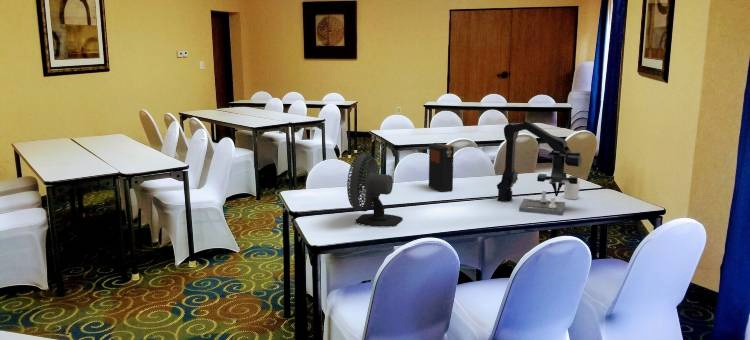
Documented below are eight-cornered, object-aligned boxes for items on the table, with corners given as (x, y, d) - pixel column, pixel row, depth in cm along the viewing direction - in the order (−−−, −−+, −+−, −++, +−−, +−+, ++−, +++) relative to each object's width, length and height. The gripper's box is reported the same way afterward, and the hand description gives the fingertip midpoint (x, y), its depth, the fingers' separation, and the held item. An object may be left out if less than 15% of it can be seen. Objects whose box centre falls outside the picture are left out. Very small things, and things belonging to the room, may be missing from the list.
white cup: (579, 200, 310) (581, 181, 308) (563, 199, 311) (565, 180, 309) (577, 196, 317) (579, 178, 315) (562, 195, 319) (563, 177, 317)
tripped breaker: (540, 202, 297) (540, 192, 296) (540, 200, 300) (541, 190, 299) (546, 202, 295) (546, 192, 294) (547, 200, 299) (547, 191, 298)
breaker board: (519, 211, 289) (519, 207, 288) (523, 202, 305) (523, 198, 305) (562, 215, 282) (562, 210, 281) (564, 205, 298) (565, 201, 298)
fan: (379, 209, 292) (379, 149, 286) (411, 223, 270) (412, 157, 264) (332, 218, 278) (331, 154, 272) (362, 232, 256) (361, 163, 250)
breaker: (548, 207, 286) (549, 197, 285) (549, 206, 289) (550, 195, 288) (555, 208, 285) (556, 198, 284) (555, 206, 288) (556, 196, 287)
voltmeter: (454, 191, 329) (455, 146, 324) (441, 192, 326) (441, 147, 321) (439, 185, 343) (440, 142, 338) (426, 186, 340) (427, 143, 335)
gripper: (536, 166, 288) (535, 198, 291) (577, 169, 281) (575, 201, 284) (539, 162, 298) (537, 193, 301) (578, 164, 291) (576, 196, 295)
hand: (556, 196), depth 295 cm, fingers closed
